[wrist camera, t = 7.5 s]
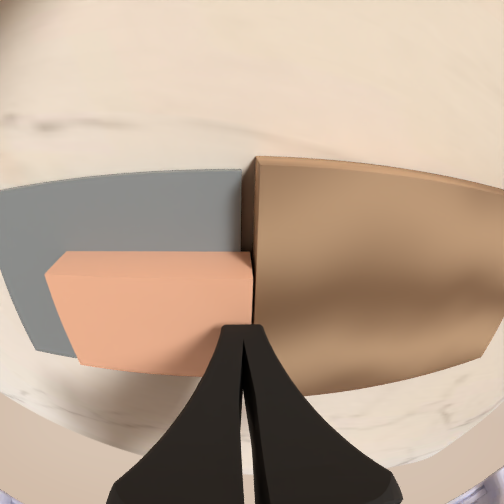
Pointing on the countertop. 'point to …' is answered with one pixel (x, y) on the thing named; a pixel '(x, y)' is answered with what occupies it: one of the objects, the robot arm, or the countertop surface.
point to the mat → (108, 230)
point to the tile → (150, 306)
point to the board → (373, 270)
